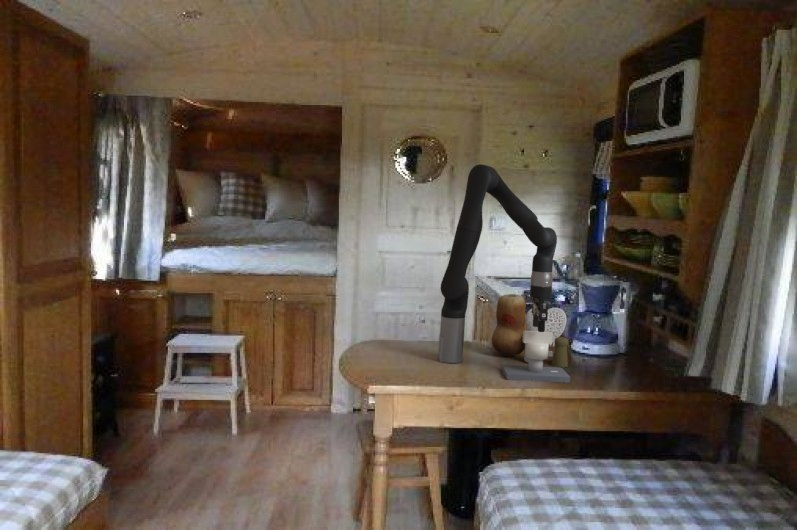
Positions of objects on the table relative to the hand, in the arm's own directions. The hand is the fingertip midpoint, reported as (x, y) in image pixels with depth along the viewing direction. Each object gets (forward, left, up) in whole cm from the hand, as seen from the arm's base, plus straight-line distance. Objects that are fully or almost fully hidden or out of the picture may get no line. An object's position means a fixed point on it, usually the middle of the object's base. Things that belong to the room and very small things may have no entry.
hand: (538, 329), depth 218 cm
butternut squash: (-5, +27, -17) cm, 32 cm away
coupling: (0, 0, -10) cm, 10 cm away
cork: (+13, +16, -17) cm, 27 cm away
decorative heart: (+14, +46, -17) cm, 51 cm away
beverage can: (+3, +19, -17) cm, 26 cm away
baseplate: (0, 0, -17) cm, 17 cm away
